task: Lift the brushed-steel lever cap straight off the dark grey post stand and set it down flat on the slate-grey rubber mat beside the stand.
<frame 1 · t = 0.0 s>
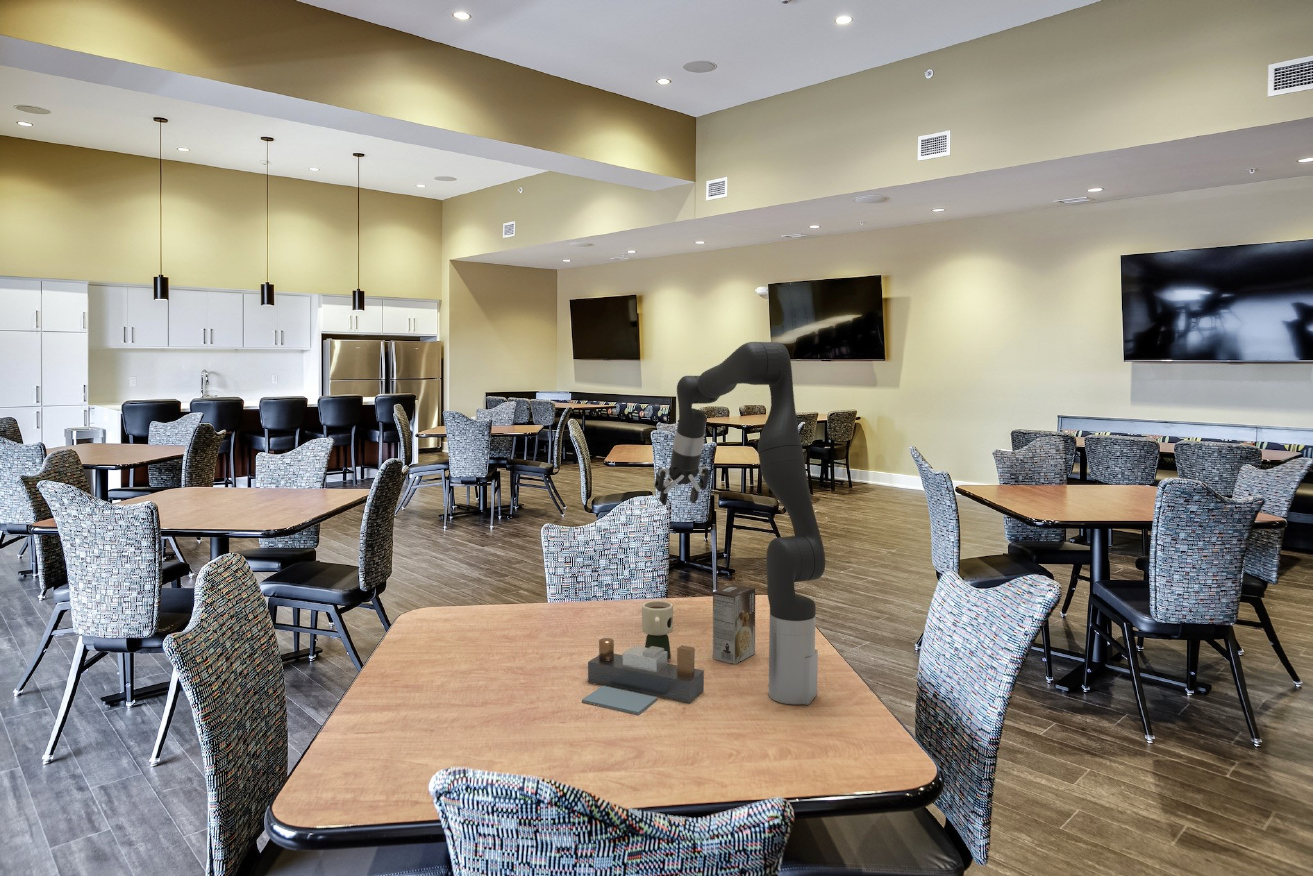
hand: (678, 502, 215), 31 cm above the table, tool tilted 20°, fingers open, 8 cm apart
mat: (619, 701, 163), on the table
lever cap: (645, 666, 170), point 4 cm above the table, touching dark grey post stand
character mug: (657, 660, 186), on the table
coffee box: (733, 657, 188), on the table
dark grey post stand: (645, 686, 170), on the table
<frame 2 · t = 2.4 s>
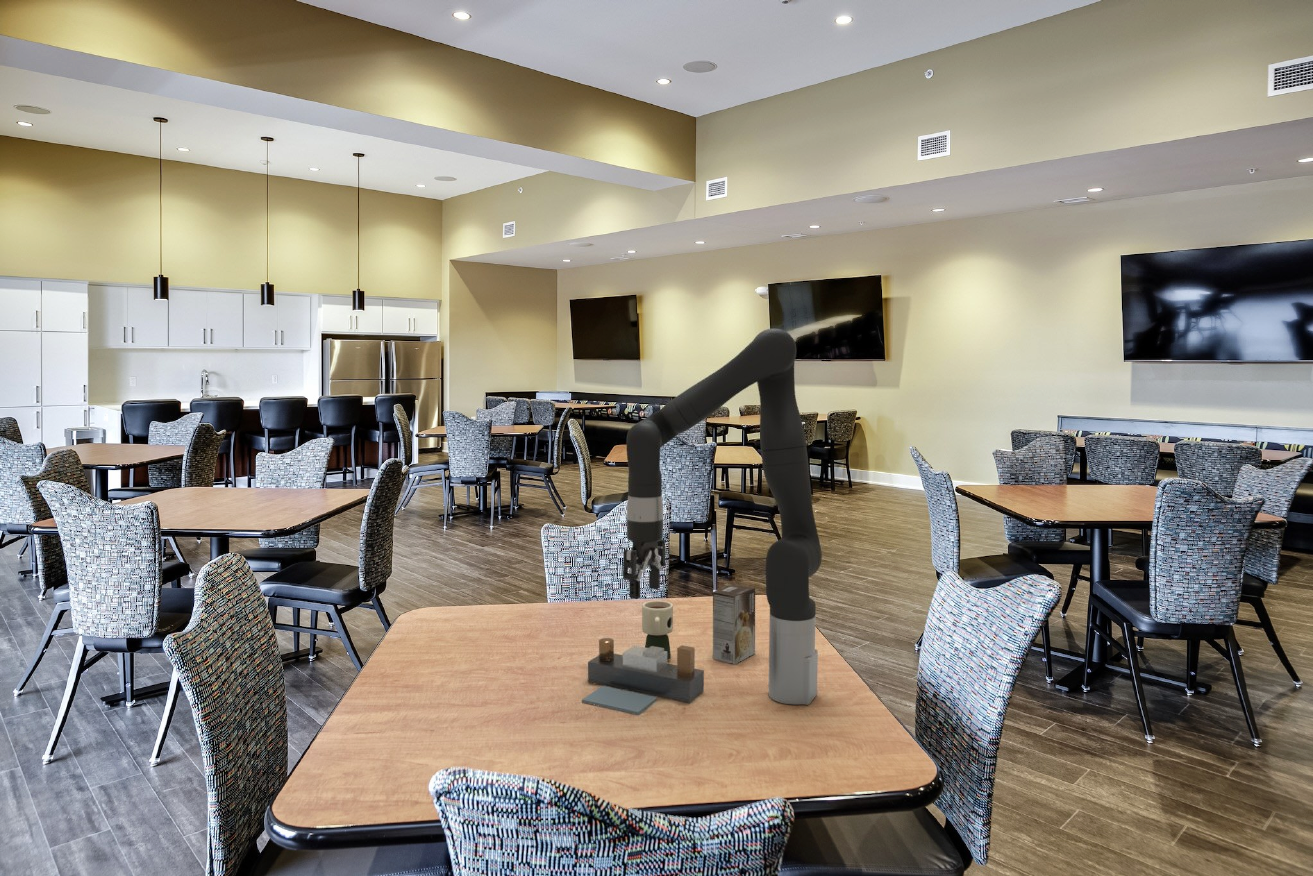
hand: (644, 593, 169), 20 cm above the table, tool pointing down, fingers open, 8 cm apart
nothing on the table moved.
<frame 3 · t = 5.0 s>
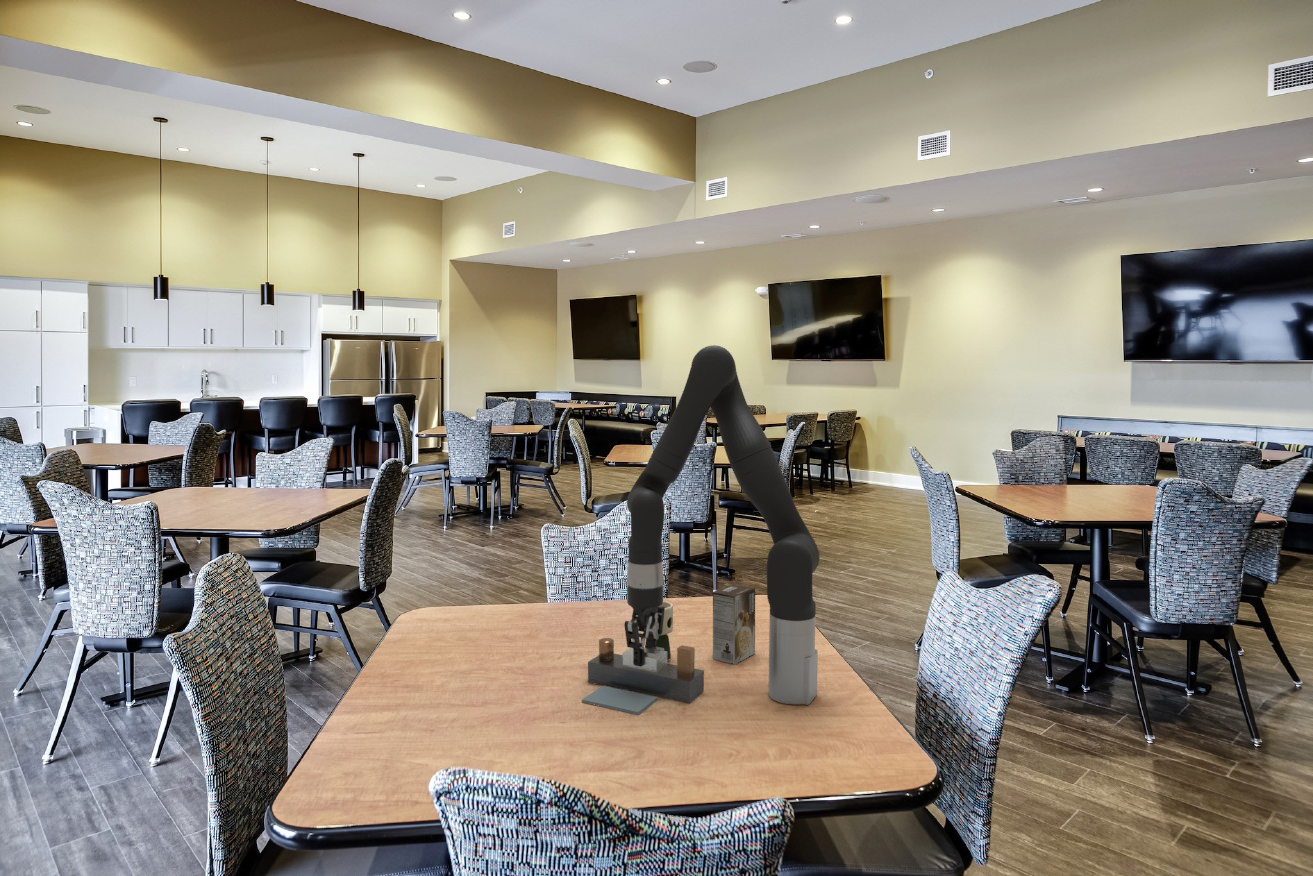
hand: (645, 660, 170), 6 cm above the table, tool pointing down, fingers closed on lever cap, 5 cm apart
lever cap: (645, 666, 170), point 4 cm above the table, touching gripper, dark grey post stand
everything else where it was.
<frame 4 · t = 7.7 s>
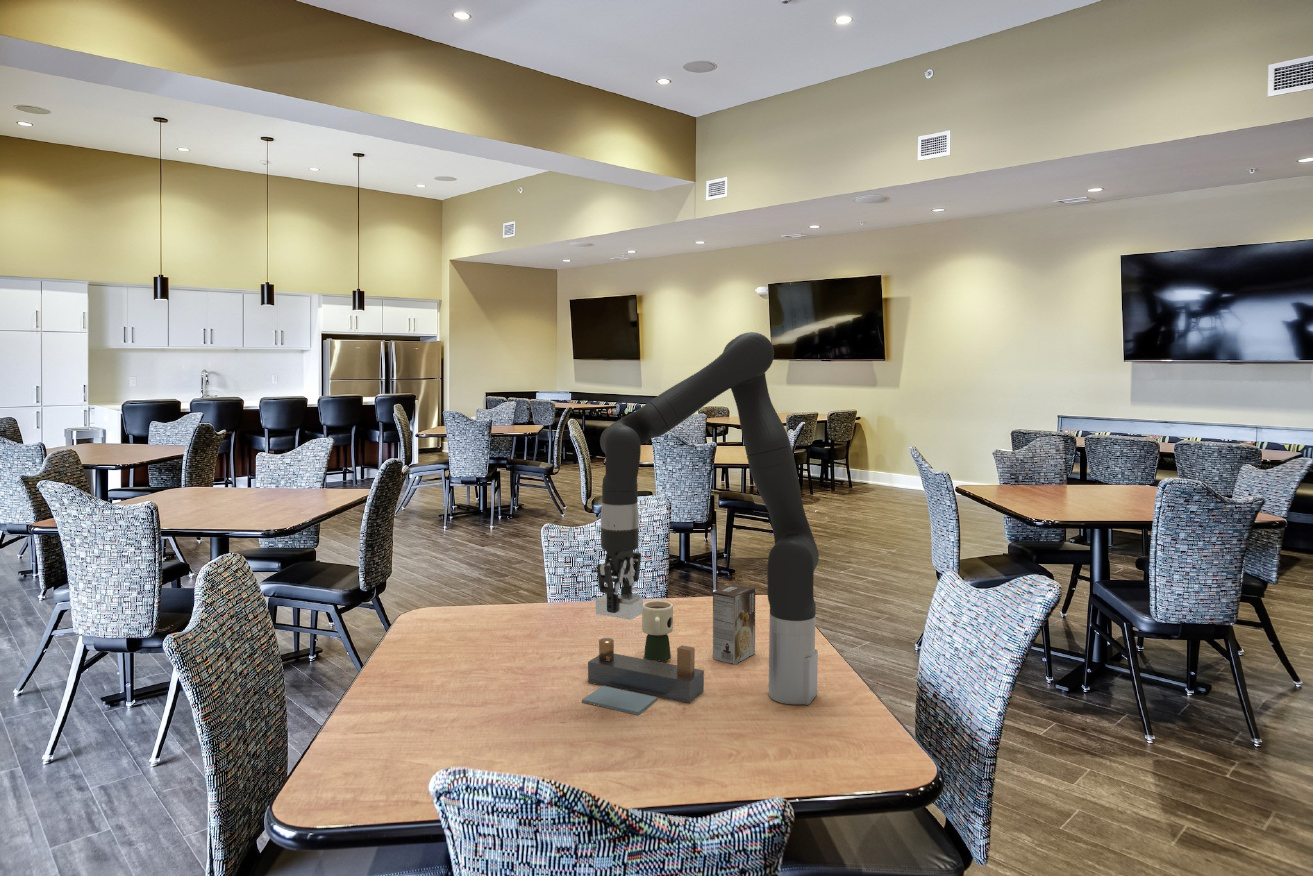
hand: (619, 608, 161), 19 cm above the table, tool pointing down, fingers closed on lever cap, 5 cm apart
lever cap: (619, 613, 162), point 18 cm above the table, touching gripper
everything else where it was.
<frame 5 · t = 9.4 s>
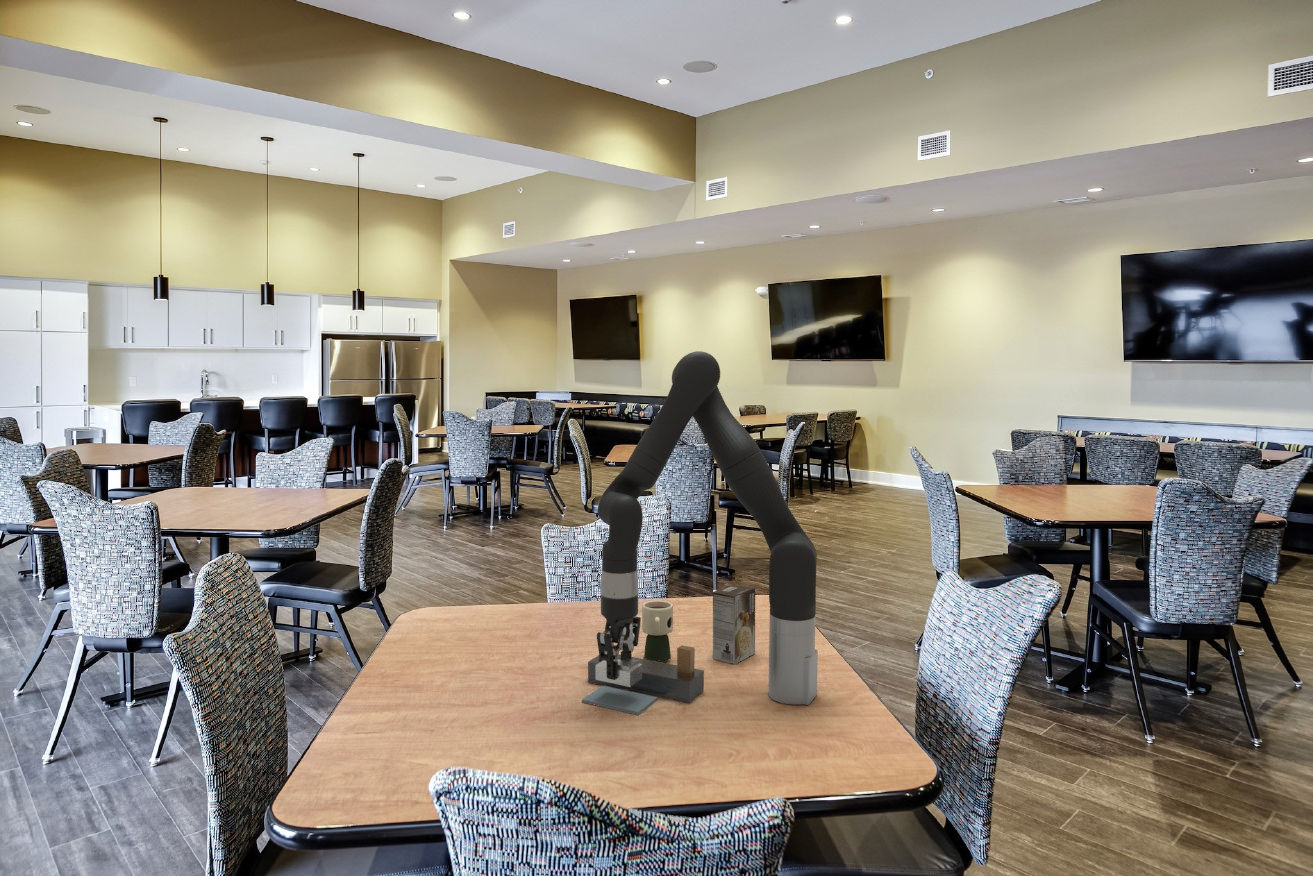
hand: (619, 673, 163), 6 cm above the table, tool pointing down, fingers closed on lever cap, 5 cm apart
lever cap: (618, 679, 163), point 5 cm above the table, touching gripper
everything else where it was.
when the fingers open (3 cm above the table, at t = 10.7 s): lever cap drops 1 cm, resting on mat.
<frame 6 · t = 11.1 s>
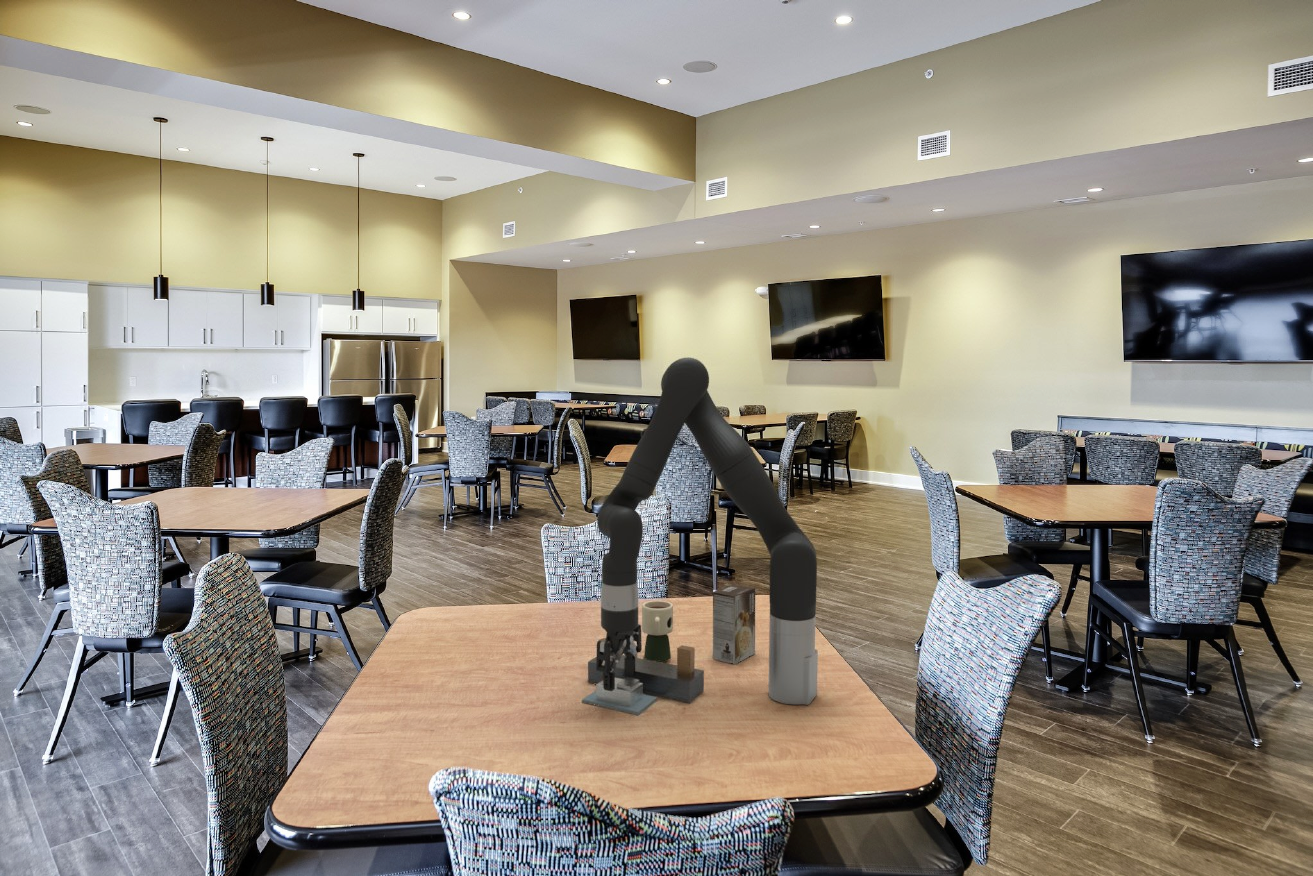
hand: (619, 682, 162), 4 cm above the table, tool pointing down, fingers open, 8 cm apart
lever cap: (619, 698, 163), point 1 cm above the table, touching mat
everything else where it was.
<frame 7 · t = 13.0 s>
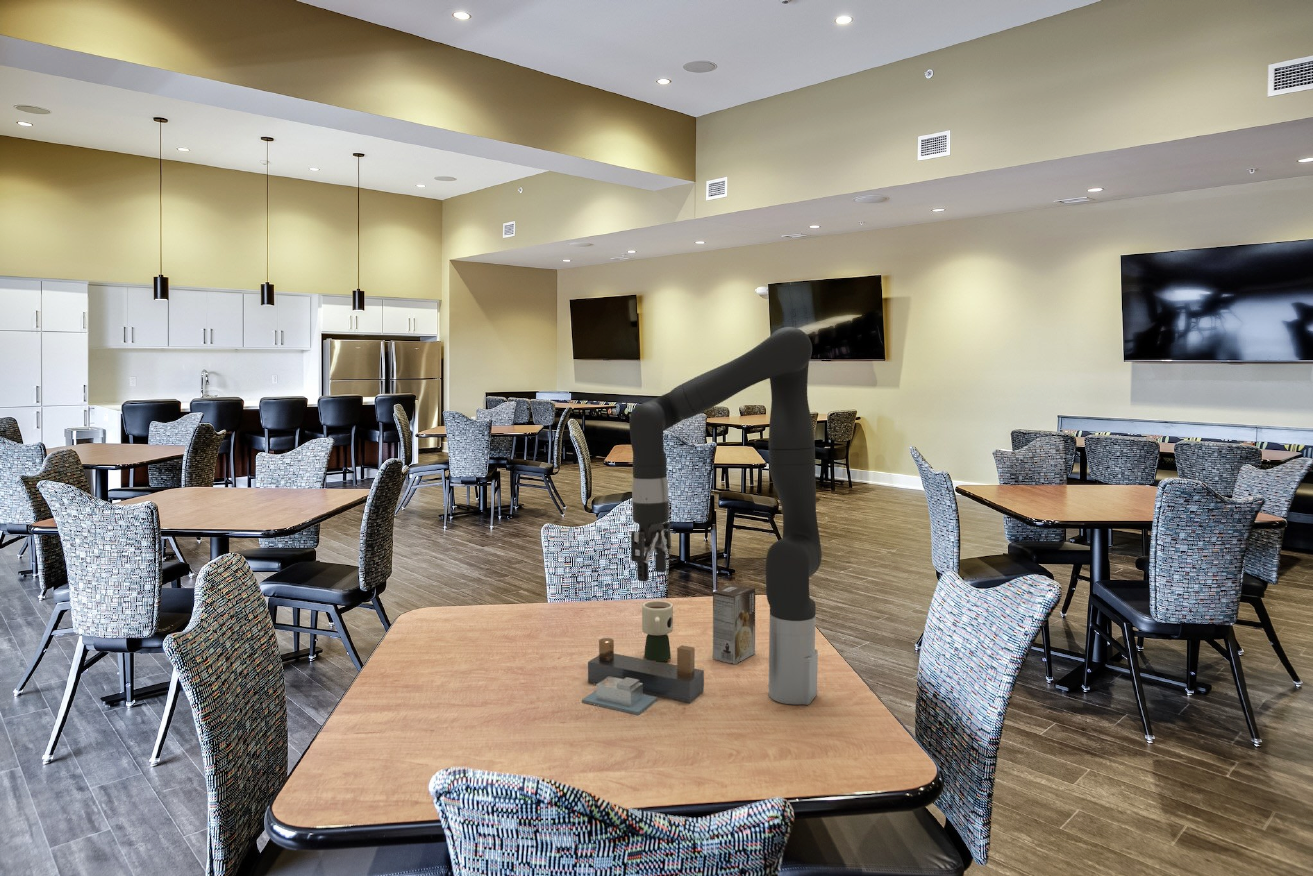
hand: (652, 576, 167), 24 cm above the table, tool pointing down, fingers open, 8 cm apart
nothing on the table moved.
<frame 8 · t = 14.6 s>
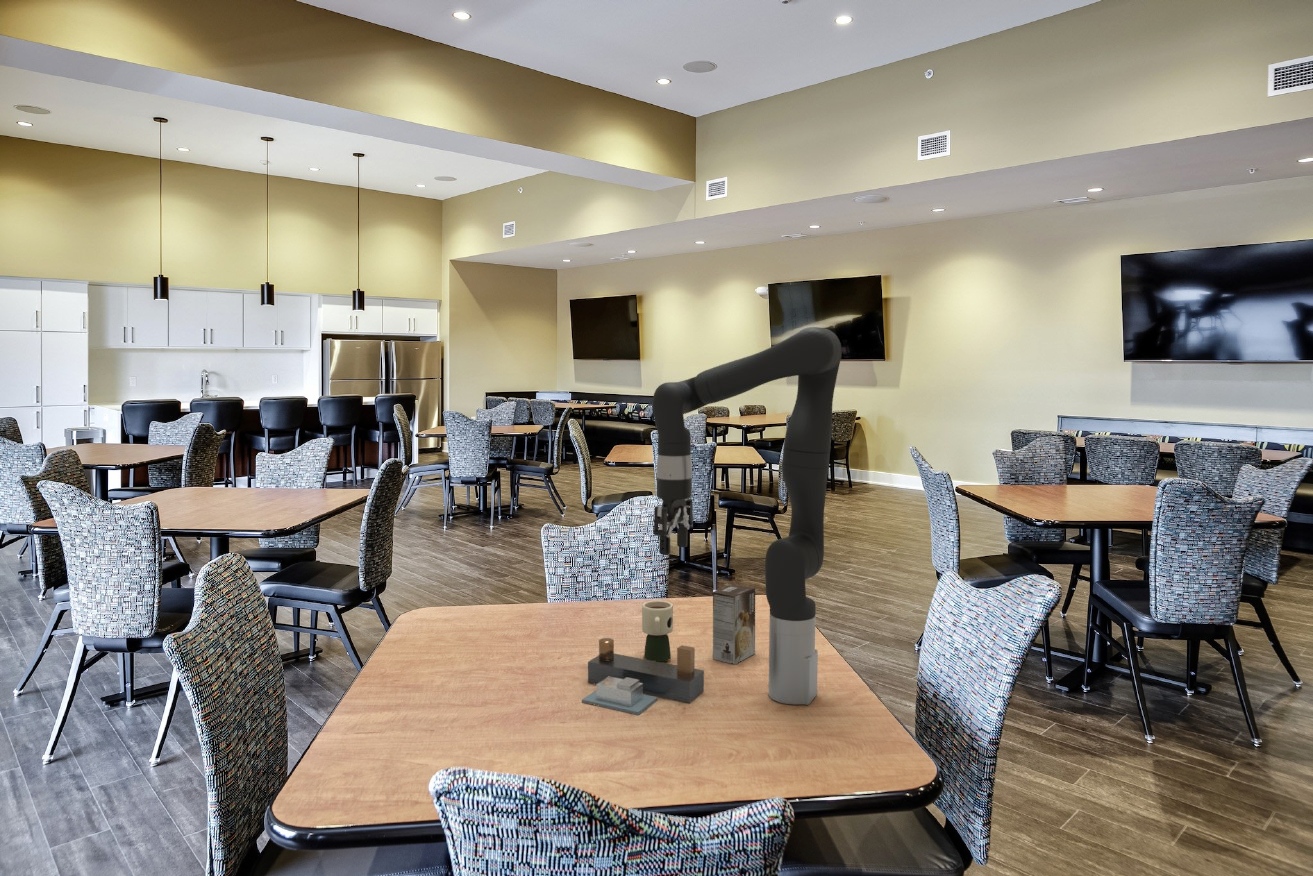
hand: (673, 550, 173), 28 cm above the table, tool pointing down, fingers open, 8 cm apart
nothing on the table moved.
at the end: lever cap 0.0 cm off-centre on the mat, point 0.6 cm above the mat's base; lever cap tilted 0°; lever cap touching mat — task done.
